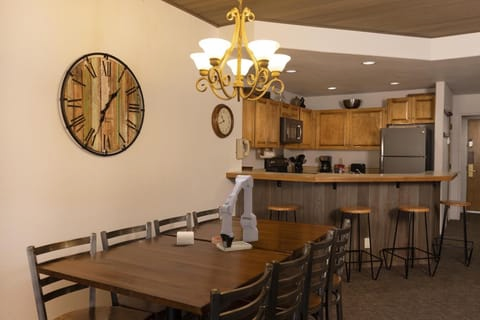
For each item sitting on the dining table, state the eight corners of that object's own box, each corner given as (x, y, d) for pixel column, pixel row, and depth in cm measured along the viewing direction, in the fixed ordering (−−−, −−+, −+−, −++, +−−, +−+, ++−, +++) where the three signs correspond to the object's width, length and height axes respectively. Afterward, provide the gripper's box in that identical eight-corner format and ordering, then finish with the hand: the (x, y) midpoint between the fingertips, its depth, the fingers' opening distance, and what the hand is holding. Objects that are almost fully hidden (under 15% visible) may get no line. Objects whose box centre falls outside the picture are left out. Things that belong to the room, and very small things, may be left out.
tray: (243, 244, 242) (243, 240, 242) (252, 249, 230) (252, 245, 230) (216, 247, 235) (216, 243, 235) (224, 252, 223) (224, 248, 223)
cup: (193, 242, 237) (176, 243, 236) (193, 248, 248) (177, 248, 247) (193, 229, 241) (177, 230, 240) (193, 235, 252) (178, 235, 251)
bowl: (227, 240, 254) (227, 235, 254) (235, 245, 242) (235, 239, 242) (209, 242, 248) (209, 237, 248) (216, 247, 237) (216, 241, 237)
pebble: (229, 246, 234) (229, 240, 234) (231, 248, 230) (231, 241, 230) (222, 247, 232) (222, 241, 232) (225, 249, 228) (225, 242, 228)
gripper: (216, 222, 236) (216, 244, 236) (225, 226, 222) (225, 250, 223) (227, 221, 238) (227, 243, 239) (236, 225, 225) (236, 249, 225)
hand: (227, 246), depth 231 cm, fingers open, 6 cm apart
